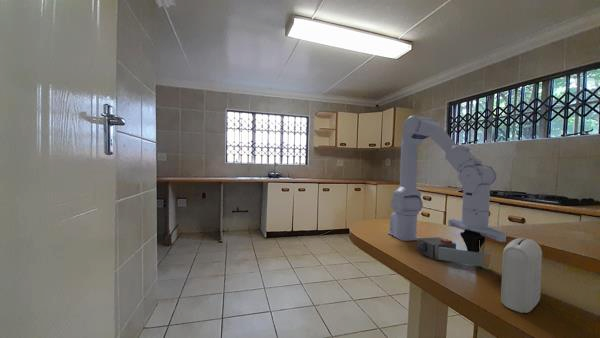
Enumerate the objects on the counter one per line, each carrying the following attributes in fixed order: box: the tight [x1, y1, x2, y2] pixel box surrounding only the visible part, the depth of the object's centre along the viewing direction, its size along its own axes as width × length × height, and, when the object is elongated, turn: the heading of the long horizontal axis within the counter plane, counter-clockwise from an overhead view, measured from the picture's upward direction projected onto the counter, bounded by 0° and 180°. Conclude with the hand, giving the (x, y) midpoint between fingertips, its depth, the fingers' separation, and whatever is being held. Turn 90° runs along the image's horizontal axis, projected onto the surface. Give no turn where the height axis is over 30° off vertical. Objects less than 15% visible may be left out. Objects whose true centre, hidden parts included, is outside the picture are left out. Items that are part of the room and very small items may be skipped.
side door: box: [434, 245, 490, 269], centre depth 61 cm, size 1×12×4 cm, turn 67°
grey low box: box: [416, 236, 457, 260], centre depth 68 cm, size 6×9×5 cm, turn 103°
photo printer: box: [500, 237, 543, 314], centre depth 44 cm, size 10×4×12 cm, turn 123°
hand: (472, 259), depth 62 cm, fingers closed, pressing on side door
